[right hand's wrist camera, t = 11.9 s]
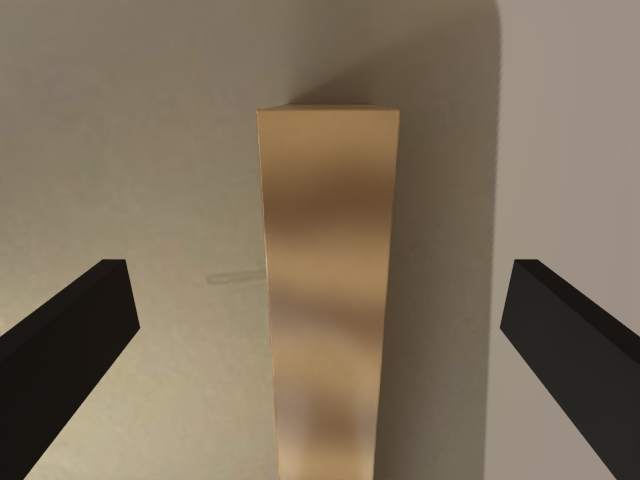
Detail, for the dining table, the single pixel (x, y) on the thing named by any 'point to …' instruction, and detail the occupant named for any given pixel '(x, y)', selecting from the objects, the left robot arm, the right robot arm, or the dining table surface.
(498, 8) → the dining table surface
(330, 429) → the bar
